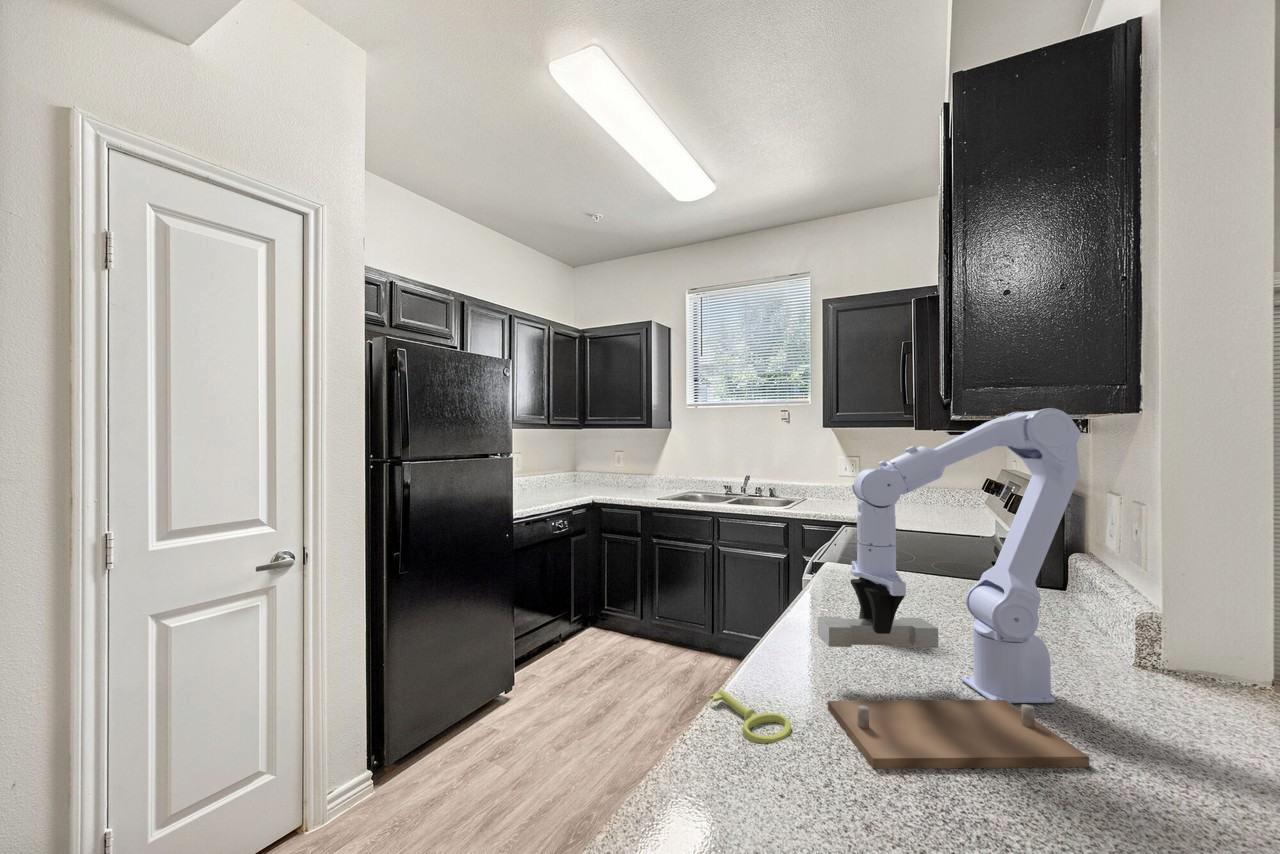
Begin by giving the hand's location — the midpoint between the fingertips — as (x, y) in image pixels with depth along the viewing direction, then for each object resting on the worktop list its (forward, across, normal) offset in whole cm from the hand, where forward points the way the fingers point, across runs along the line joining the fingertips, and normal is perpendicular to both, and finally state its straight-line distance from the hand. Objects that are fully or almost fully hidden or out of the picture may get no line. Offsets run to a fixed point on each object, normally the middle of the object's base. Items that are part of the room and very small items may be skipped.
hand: (876, 628), depth 85 cm
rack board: (+9, +15, +2) cm, 18 cm away
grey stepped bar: (+2, 0, 0) cm, 2 cm away
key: (+9, +11, -23) cm, 27 cm away
